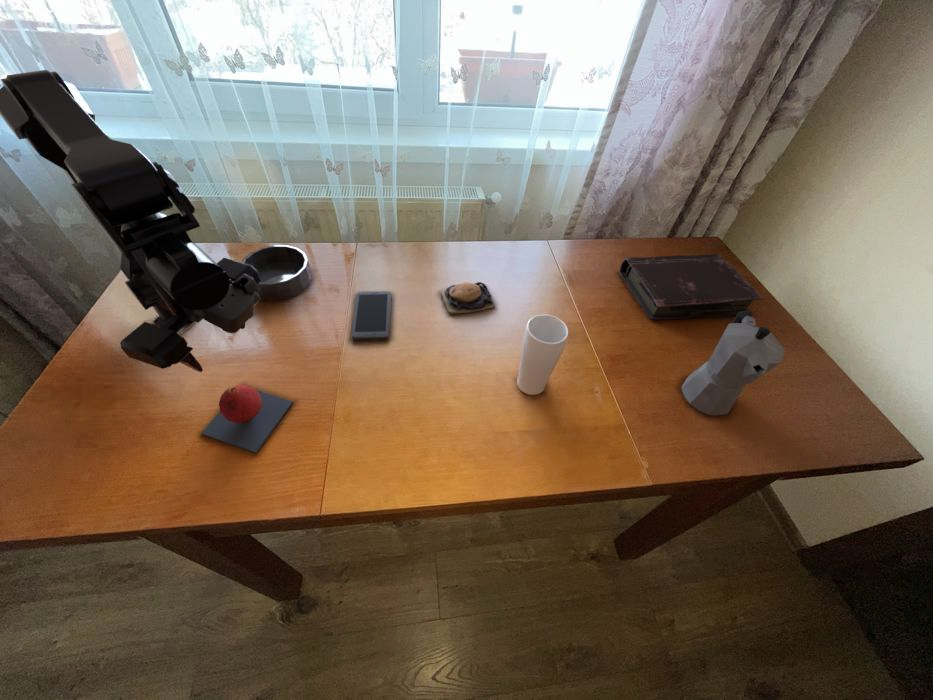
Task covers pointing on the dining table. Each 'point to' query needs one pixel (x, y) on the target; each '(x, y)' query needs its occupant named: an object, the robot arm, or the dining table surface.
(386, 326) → the cell phone
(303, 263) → the bowl
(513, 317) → the dining table surface
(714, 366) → the coffeepot
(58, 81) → the robot arm
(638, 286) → the diary
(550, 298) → the dining table surface
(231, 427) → the mat
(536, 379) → the tall white cup
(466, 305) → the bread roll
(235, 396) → the red rounded piece
